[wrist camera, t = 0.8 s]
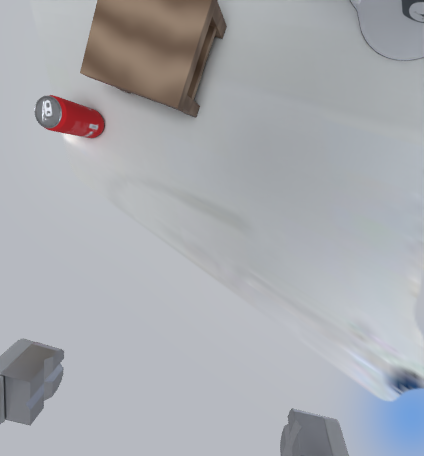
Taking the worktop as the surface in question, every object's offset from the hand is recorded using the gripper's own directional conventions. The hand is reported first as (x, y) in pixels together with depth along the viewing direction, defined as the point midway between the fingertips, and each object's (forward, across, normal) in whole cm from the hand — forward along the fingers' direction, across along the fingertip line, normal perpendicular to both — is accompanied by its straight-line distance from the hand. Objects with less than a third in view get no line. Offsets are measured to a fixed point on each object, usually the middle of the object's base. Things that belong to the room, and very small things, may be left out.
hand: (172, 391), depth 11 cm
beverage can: (+50, +29, -4) cm, 58 cm away
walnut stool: (+50, +16, -17) cm, 55 cm away
